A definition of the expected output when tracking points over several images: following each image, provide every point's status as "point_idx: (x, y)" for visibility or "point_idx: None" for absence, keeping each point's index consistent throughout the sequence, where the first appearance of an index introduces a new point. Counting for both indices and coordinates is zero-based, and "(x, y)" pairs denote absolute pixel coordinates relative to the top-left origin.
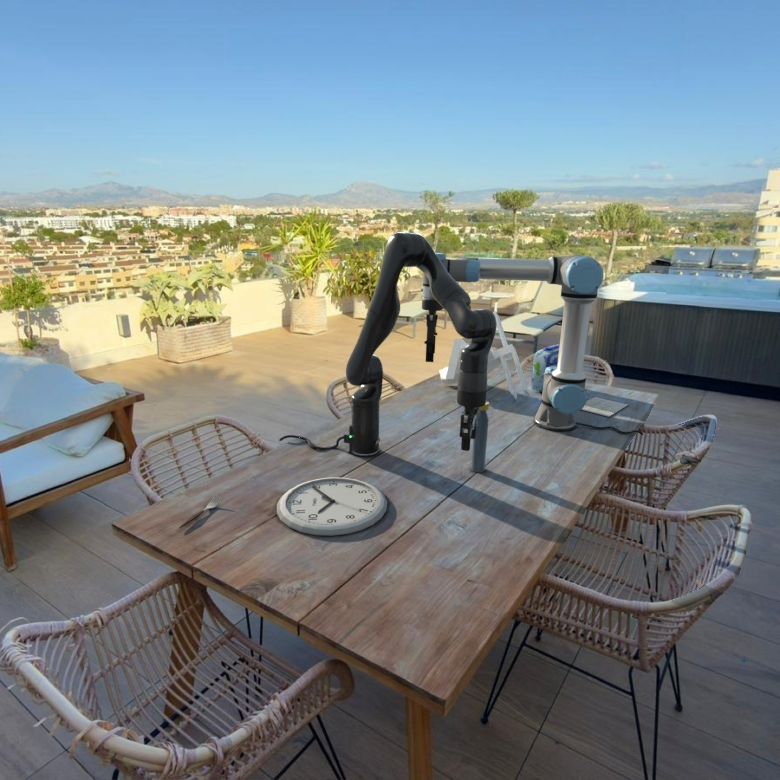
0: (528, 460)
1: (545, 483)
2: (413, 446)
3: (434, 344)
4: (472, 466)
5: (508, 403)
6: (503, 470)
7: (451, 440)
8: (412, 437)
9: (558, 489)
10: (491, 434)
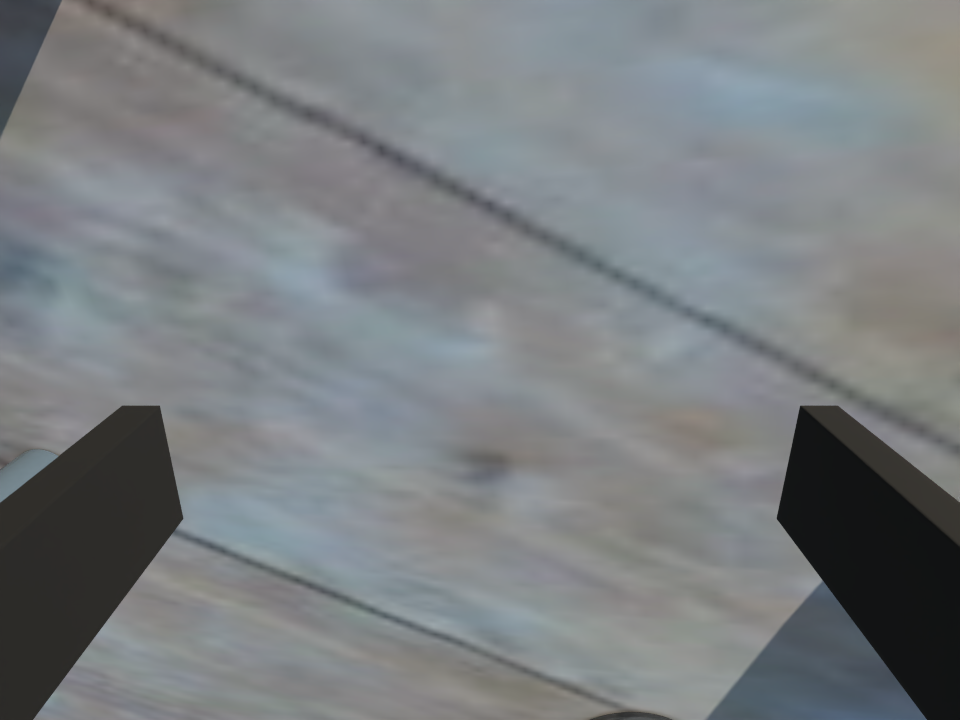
0: (211, 648)
1: None
2: (202, 168)
3: (873, 629)
4: (8, 463)
5: None
6: None
7: (342, 367)
8: (332, 151)
9: None
10: (462, 543)
